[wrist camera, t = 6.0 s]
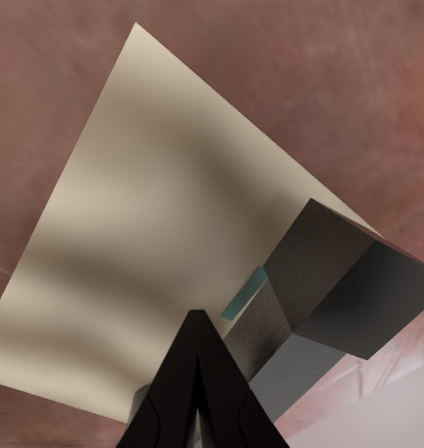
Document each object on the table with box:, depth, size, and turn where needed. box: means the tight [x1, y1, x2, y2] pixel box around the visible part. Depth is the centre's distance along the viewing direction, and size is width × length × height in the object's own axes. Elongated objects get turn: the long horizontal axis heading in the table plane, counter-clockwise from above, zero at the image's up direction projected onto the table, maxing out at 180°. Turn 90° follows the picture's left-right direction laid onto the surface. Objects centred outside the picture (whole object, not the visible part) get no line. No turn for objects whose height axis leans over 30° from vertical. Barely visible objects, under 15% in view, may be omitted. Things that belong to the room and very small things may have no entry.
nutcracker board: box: [0, 22, 385, 423], centre depth 13 cm, size 22×16×4 cm
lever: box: [125, 198, 424, 448], centre depth 11 cm, size 20×4×6 cm, turn 153°
